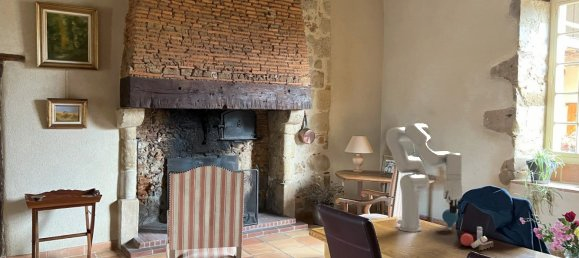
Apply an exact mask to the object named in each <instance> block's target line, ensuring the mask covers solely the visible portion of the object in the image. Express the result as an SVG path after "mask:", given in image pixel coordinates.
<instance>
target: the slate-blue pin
mask: <svg viewBox="0 0 579 258" xmlns="http://www.w3.org/2000/svg"><path fill="white" fill-rule="evenodd" d="M481 237H483V227H482V226H476V241H477V240H478V239H480V238H481ZM480 245H481V244H480Z"/></svg>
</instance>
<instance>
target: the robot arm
mask: <svg viewBox="0 0 579 258" xmlns="http://www.w3.org/2000/svg"><path fill="white" fill-rule="evenodd" d="M430 132H431V131H430V128H429V126H428V125H427V124H425V123H410V124H407V125H406V126H397V127H391V128H389V129H388V130H387V132H386V133H385V134H386V135H385V142H386V145H387V147H388V149H389V151H390V153H391V155H392V158H393V161H394V164H395V167H396V169H397V171H398V172H399V173H400V174H405V175H403V176H401V178H400V181H399V185H400V186H399V188H400V192H401V219H398V220H397V221H396V223H397V224H399V227H398V228H399V230H400V231H403V232H408V233H409V232H410V233H418V232H421V231H422V230H423V227H421V226H420V197H419V195H418V193H417V191H423V190H426V189H428V188H429V186H430V179H429V178H430V177H429V175H428V173H427V171H426V167H425V165H424V162H425V163H426V164H428V165H429V166H431V167H445V181H444V185H443V199H444V200H445V202H446V203H448V206H449V209H450V213H454V214H455V213H457V214H458V204H459V201H461V199H462V198H463V185H462V183H463V182H462V165H463V164H462V163H463V162H462V158H463V157H462V154H461V153H459V152H451V151H433V150H432V149H431V148H430V147H431V145H432V143H433V139H432V137H431V136H430ZM401 142H412V143H413V144H414V145H416V147H418V152H419V156H420V157H421V158H420V157H417V156H409V154H408V152H407V148H406V147H405V146H404V145H403V144H402V143H401ZM421 159H423V161H424V162H423V161H422V160H421Z"/></svg>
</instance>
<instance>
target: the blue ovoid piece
mask: <svg viewBox="0 0 579 258" xmlns="http://www.w3.org/2000/svg"><path fill="white" fill-rule="evenodd" d="M441 216H442V220H443V222H444V223H445V224H446V225H447V229H448V230H449V231H452V230H453V229H452V228H453V225H454V224H455V223H456V222H457V221H458V218H459V216H458V212H457V213H455V214H454V213H450V208H448V209H445V210H444V211H443V213H442V214H441Z"/></svg>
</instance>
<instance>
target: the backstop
mask: <svg viewBox="0 0 579 258" xmlns="http://www.w3.org/2000/svg"><path fill="white" fill-rule="evenodd" d="M490 247H491V248H494V241H492V240H491V241H486V242H484V243H482V244H481V245H479V246H478V251H480V250H482V251H485V250H488V249H491V248H490ZM487 248H488V249H487ZM484 249H485V250H484Z"/></svg>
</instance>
